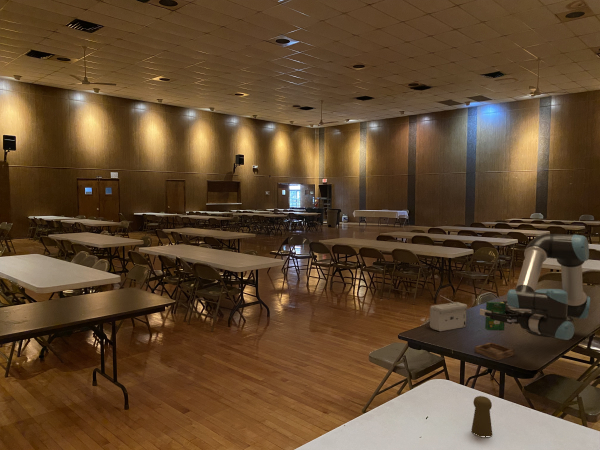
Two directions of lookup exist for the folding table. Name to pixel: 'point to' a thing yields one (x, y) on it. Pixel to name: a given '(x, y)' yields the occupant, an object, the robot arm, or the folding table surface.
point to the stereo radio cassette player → (448, 316)
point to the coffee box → (496, 308)
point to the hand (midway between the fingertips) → (486, 310)
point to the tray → (494, 351)
